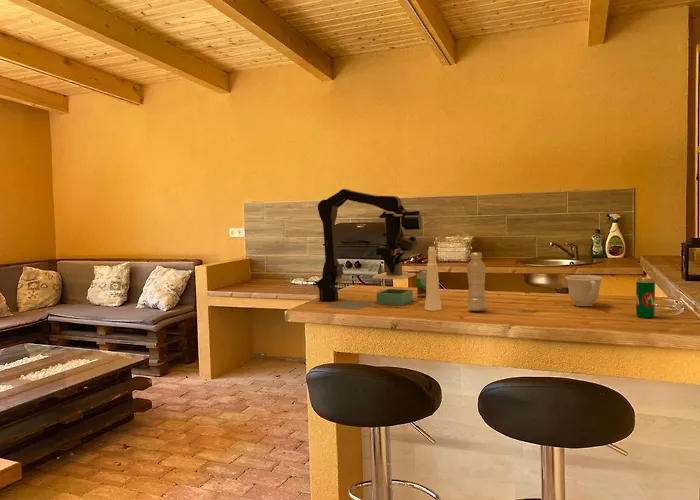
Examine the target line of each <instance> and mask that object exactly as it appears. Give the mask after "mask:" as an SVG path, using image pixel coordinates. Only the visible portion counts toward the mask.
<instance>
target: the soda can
mask: <svg viewBox="0 0 700 500" xmlns="http://www.w3.org/2000/svg"><path fill="white" fill-rule="evenodd" d="M635 285H636V286H635V315H636V316H637V318H640V317H644V318H643V319H653V318H654V317H655V315H656V314H655V312H656V310H655V309H656V306H655V305H656V304H655V303H656V282H655V280H654V278H653V277H637V280H636V284H635Z"/></svg>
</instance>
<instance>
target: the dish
mask: <svg viewBox="0 0 700 500" xmlns="http://www.w3.org/2000/svg"><path fill="white" fill-rule="evenodd" d="M413 291H414V290H413V289H404V288H403V289H401V288H400V289H399V288H386V289H384V290H381V291H378V292H376V304H377V305H389V306H390V305H391V306H404V305H407V304H409V303H411V302H413V301H414V298H413V297H414V296H413V295H414V292H413Z"/></svg>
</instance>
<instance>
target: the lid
mask: <svg viewBox="0 0 700 500" xmlns="http://www.w3.org/2000/svg"><path fill="white" fill-rule="evenodd" d="M385 266H386V267H385V268H386V269H385V270H386V271H385V272H382V273H378V274H375V275H373V276H371V277H372V279H379V280H380V279H382V280H384V279H385V280H401V281H402V280H405V279H408V278H412V277H414V276H417V273H416V272H403V264H402V263H401V262H400V263H395V267H394V273H391V272H390V270H389V268H388V266H387V264H386V263H385Z"/></svg>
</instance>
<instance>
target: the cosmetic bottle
mask: <svg viewBox="0 0 700 500" xmlns="http://www.w3.org/2000/svg"><path fill="white" fill-rule="evenodd" d="M427 258H428V259H427V264H426V270H427V284H426V298H425V300H424V301H425V303H424V310H426V311H430V312H436V311H437V312H438V311H441V310H443V308H442V303H441V295H440V282H439V281H440V279H439V267H438V265H439V264H438V263H437V250H436V246H429V247H428V250H427Z"/></svg>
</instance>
